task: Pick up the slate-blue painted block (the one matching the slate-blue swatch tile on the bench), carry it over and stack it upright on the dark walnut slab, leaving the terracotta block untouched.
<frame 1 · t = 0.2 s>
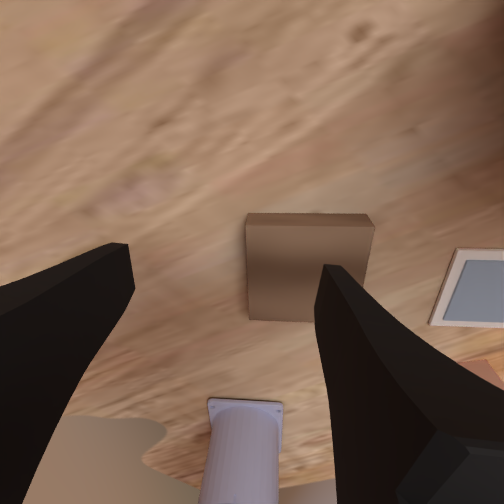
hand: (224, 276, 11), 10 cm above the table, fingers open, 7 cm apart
terracotta block: (459, 376, 27), on the table
swatch tile: (490, 289, 22), on the table
walnut slab: (302, 259, 22), on the table
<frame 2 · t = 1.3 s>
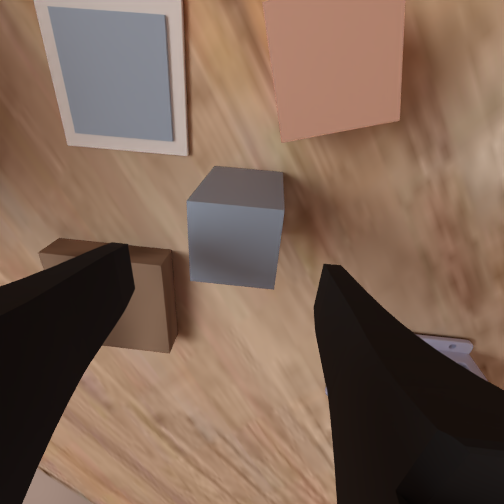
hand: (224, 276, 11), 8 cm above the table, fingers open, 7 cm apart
terracotta block: (315, 72, 14), on the table
swatch tile: (119, 79, 15), on the table
walnut slab: (126, 286, 23), on the table
blue block: (246, 201, 18), on the table
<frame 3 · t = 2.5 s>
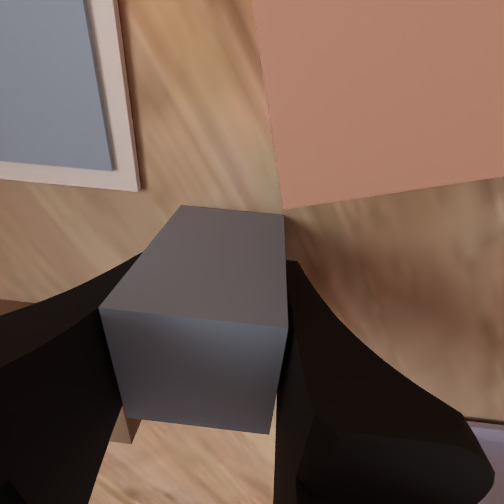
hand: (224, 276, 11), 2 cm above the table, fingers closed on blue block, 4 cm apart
terracotta block: (338, 62, 9), on the table
swatch tile: (22, 74, 9), on the table
walnut slab: (73, 353, 17), on the table
blue block: (230, 254, 12), on the table, touching gripper
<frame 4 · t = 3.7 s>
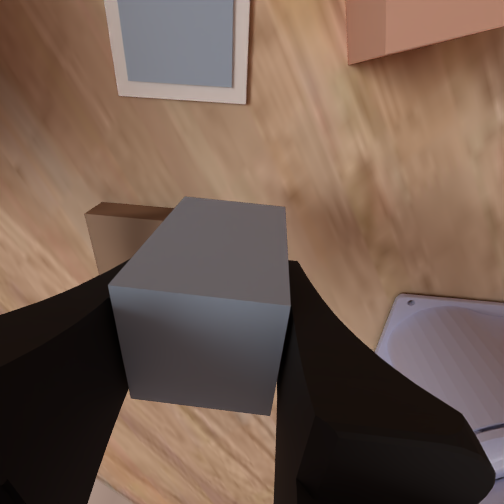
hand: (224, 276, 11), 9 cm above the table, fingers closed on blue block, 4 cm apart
terracotta block: (390, 4, 13), on the table
swatch tile: (178, 19, 14), on the table
walnut slab: (167, 255, 22), on the table
blue block: (232, 245, 12), point 7 cm above the table, touching gripper
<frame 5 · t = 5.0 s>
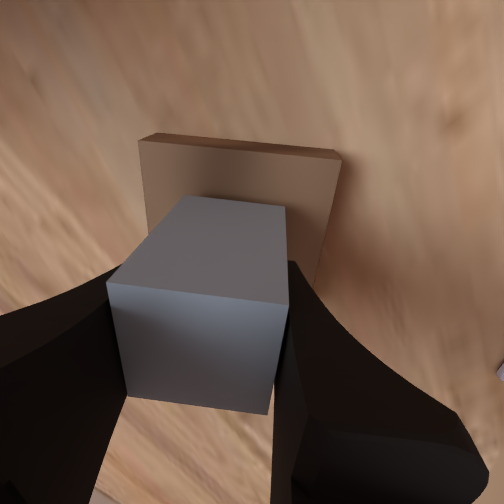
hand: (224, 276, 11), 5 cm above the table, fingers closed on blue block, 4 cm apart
walnut slab: (240, 218, 16), on the table
blue block: (231, 245, 12), point 3 cm above the table, touching gripper
when the fingers open (5 cm above the table, at t = 5.3 s): blue block stays where it is, resting on walnut slab.
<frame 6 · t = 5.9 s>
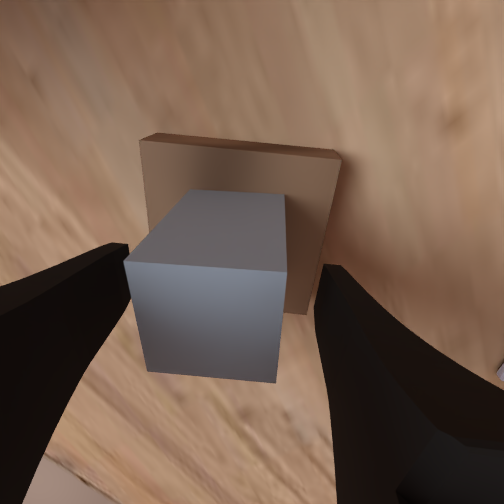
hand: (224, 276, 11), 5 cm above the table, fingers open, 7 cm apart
walnut slab: (240, 218, 16), on the table, touching blue block
blue block: (236, 234, 13), point 2 cm above the table, touching walnut slab
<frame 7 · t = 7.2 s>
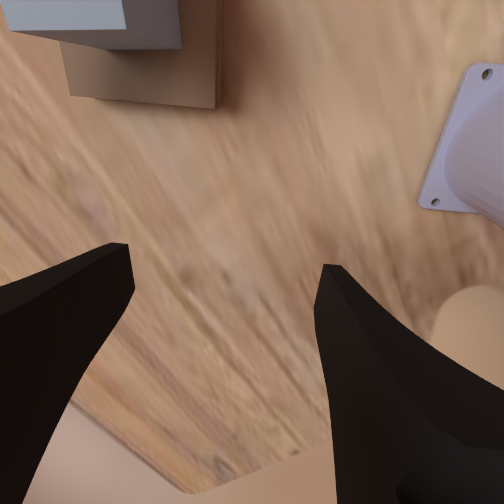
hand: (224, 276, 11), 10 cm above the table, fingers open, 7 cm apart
walnut slab: (152, 18, 16), on the table
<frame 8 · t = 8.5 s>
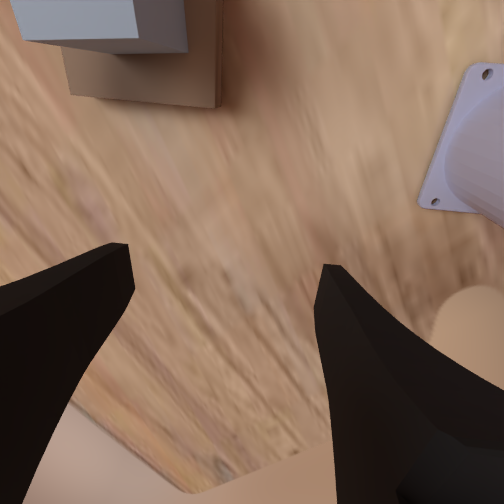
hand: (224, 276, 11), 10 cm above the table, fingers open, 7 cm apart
walnut slab: (152, 17, 16), on the table
blue block: (142, 2, 14), point 2 cm above the table
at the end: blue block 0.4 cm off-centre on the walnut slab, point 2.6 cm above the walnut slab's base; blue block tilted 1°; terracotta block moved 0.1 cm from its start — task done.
